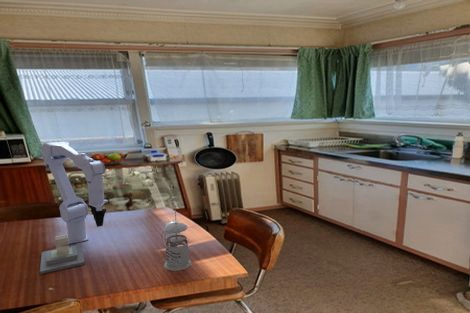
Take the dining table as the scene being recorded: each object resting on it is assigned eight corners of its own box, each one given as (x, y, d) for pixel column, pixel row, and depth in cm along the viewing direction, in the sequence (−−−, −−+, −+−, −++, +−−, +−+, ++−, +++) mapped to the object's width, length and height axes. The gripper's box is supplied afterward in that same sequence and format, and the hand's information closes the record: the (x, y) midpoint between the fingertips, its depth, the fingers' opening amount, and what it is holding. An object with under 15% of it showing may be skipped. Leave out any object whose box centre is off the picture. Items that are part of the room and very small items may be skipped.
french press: (178, 273, 108) (175, 202, 104) (154, 265, 114) (150, 197, 110) (197, 261, 116) (194, 195, 112) (173, 254, 122) (170, 191, 118)
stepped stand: (42, 254, 124) (41, 247, 124) (81, 246, 131) (80, 240, 131) (40, 274, 109) (39, 266, 108) (84, 264, 116) (84, 257, 115)
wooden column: (57, 251, 121) (55, 236, 120) (68, 248, 122) (67, 234, 122) (57, 255, 117) (55, 240, 116) (69, 252, 119) (67, 237, 118)
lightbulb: (178, 250, 125) (177, 224, 124) (163, 249, 126) (162, 223, 125) (184, 244, 131) (183, 218, 130) (170, 243, 133) (168, 218, 131)
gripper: (109, 193, 123) (111, 226, 125) (104, 186, 136) (106, 216, 138) (89, 196, 120) (92, 230, 122) (86, 188, 133) (89, 219, 134)
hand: (98, 223), depth 130 cm, fingers open, 7 cm apart
